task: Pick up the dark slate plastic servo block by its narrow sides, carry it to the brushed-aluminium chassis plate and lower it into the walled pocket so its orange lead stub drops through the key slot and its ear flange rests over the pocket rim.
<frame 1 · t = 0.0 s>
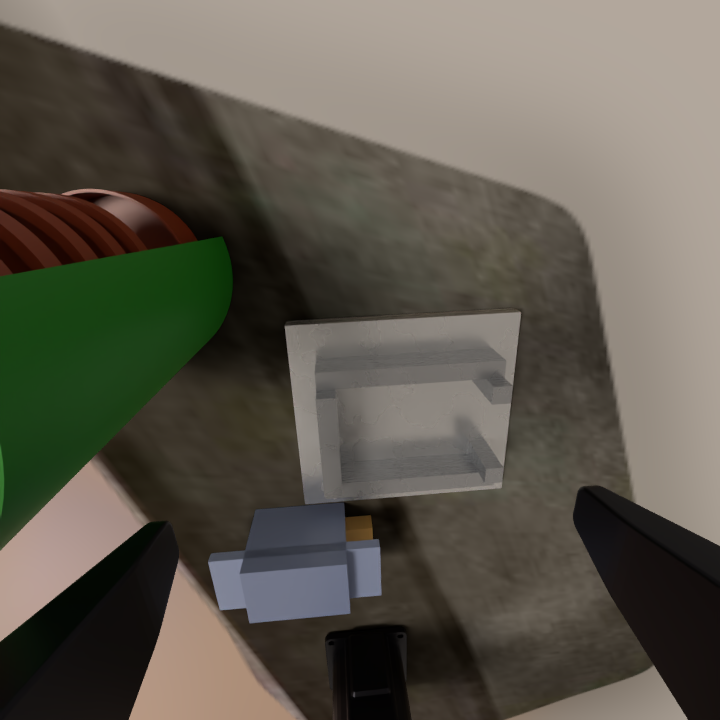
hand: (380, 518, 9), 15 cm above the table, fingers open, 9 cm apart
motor: (140, 282, 21), on the table
servo: (302, 528, 27), on the table
chassis: (401, 407, 24), on the table
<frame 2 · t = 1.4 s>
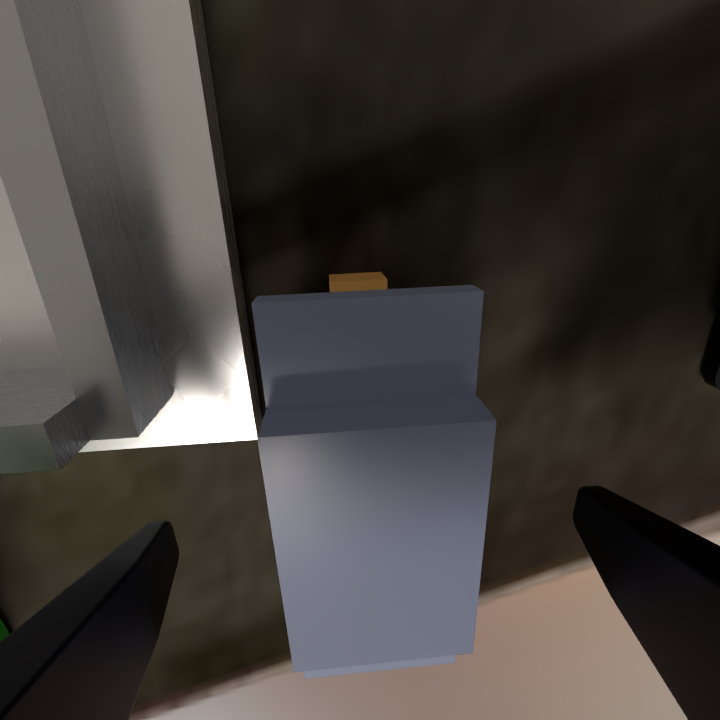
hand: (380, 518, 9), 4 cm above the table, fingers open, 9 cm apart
servo: (361, 427, 12), on the table
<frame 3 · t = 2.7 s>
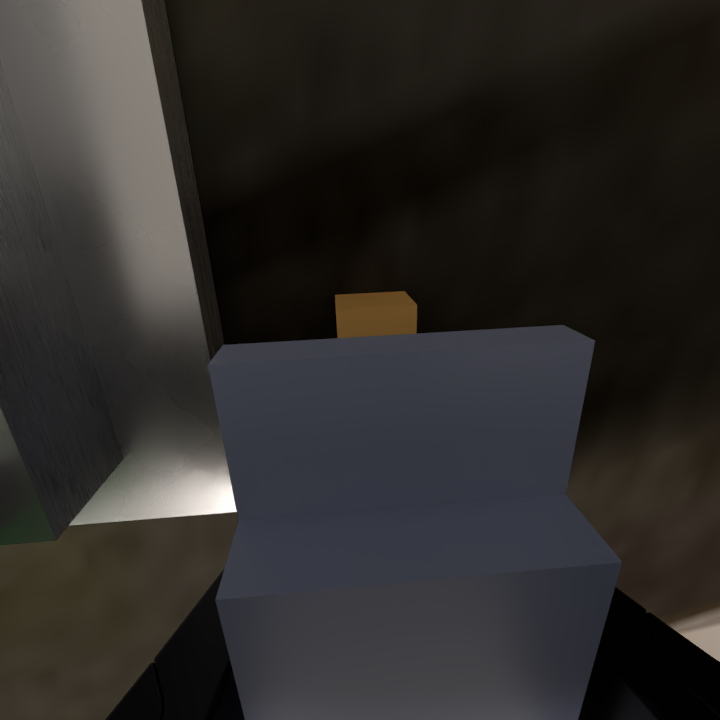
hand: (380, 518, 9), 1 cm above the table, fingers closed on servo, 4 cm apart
servo: (375, 487, 10), on the table, touching gripper
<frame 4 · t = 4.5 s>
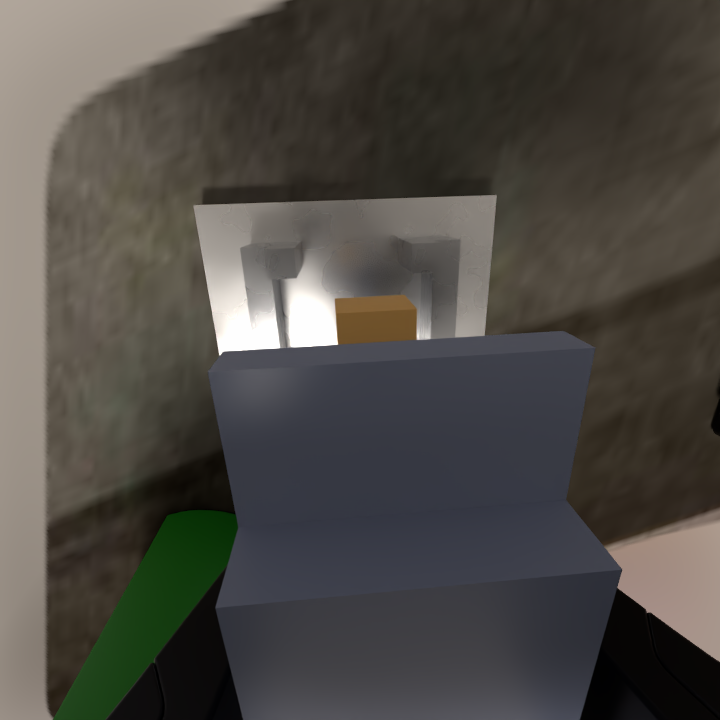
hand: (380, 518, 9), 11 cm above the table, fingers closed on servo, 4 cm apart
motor: (221, 571, 24), on the table
servo: (375, 490, 10), point 10 cm above the table, touching gripper
chassis: (353, 346, 19), on the table
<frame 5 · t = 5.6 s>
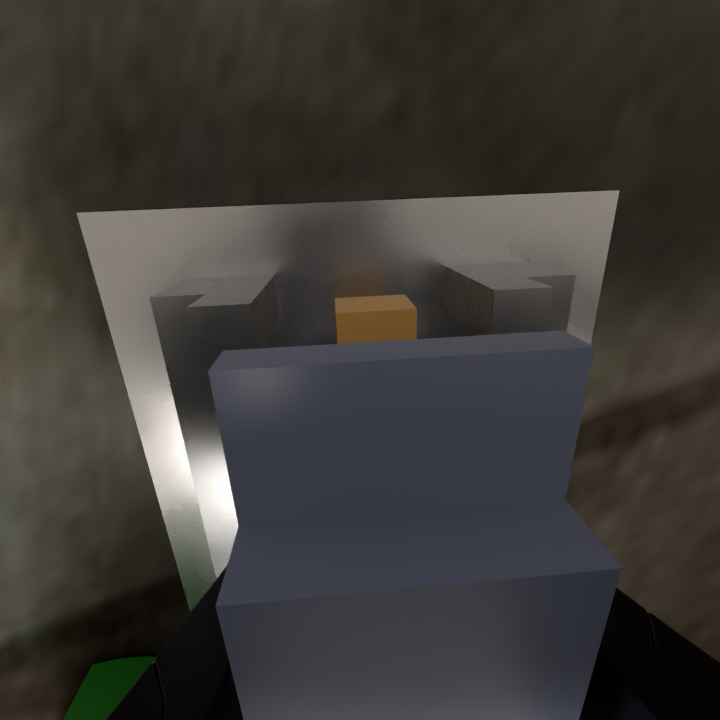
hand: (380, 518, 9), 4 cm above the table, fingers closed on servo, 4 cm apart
servo: (375, 490, 10), point 3 cm above the table, touching gripper
chassis: (364, 431, 12), on the table
when the fingers open (3 cm above the table, at t = 6.2 s): servo drops 1 cm, resting on chassis.
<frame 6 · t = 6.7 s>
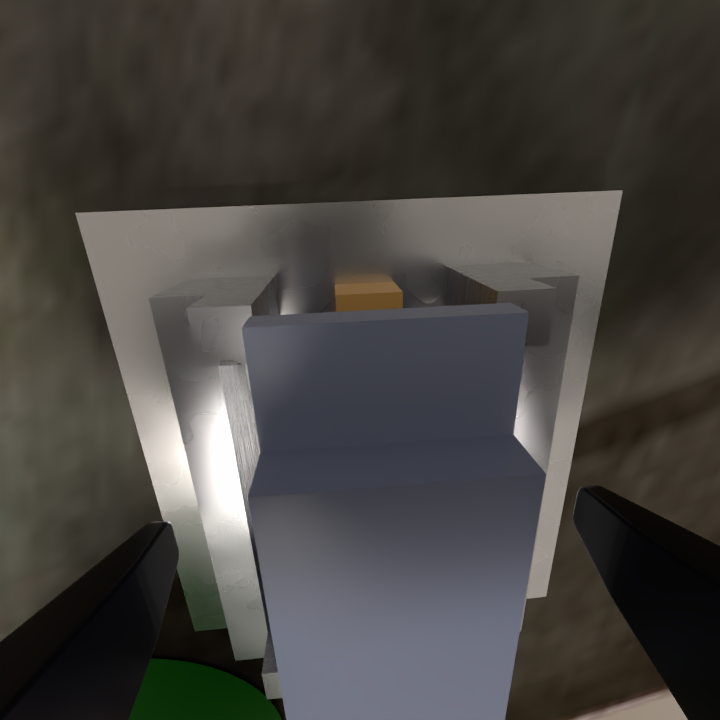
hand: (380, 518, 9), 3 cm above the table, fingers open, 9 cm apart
servo: (369, 454, 11), point 1 cm above the table, touching chassis
chassis: (365, 432, 12), on the table
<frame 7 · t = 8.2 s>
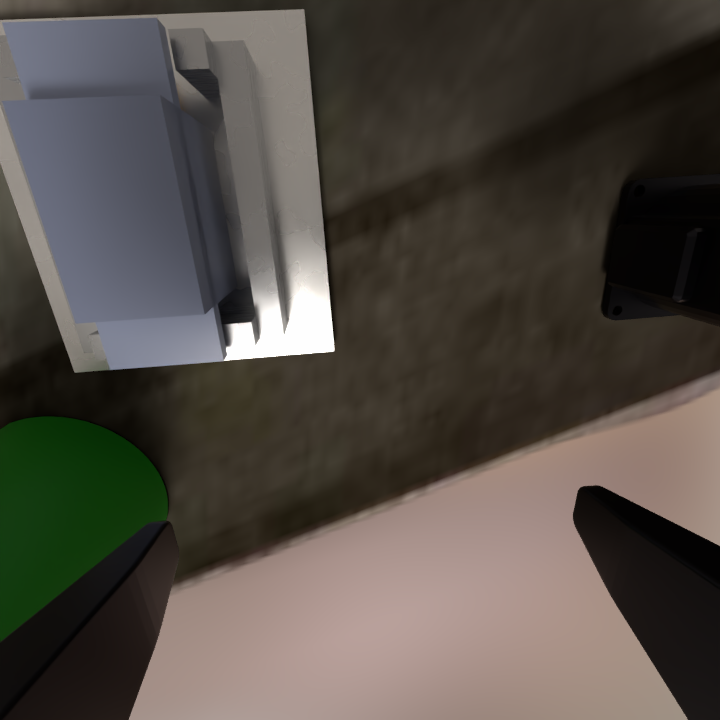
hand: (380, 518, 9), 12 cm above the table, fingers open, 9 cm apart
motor: (85, 491, 22), on the table
servo: (175, 216, 16), point 1 cm above the table, touching chassis
chassis: (183, 213, 17), on the table
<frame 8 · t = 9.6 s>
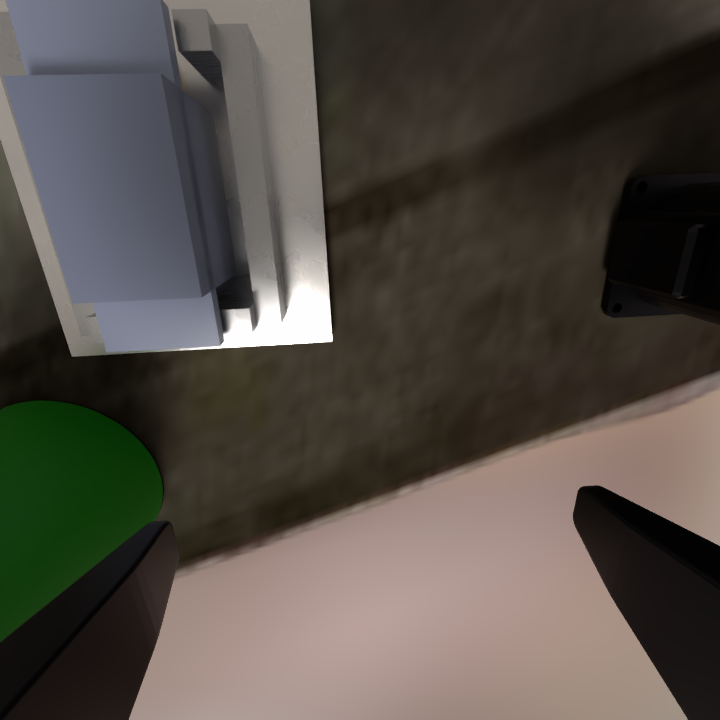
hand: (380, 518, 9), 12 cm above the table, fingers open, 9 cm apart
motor: (80, 477, 22), on the table
servo: (176, 201, 16), point 1 cm above the table, touching chassis
chassis: (183, 199, 17), on the table
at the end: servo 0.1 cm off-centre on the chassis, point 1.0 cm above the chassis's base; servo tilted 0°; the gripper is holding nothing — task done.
